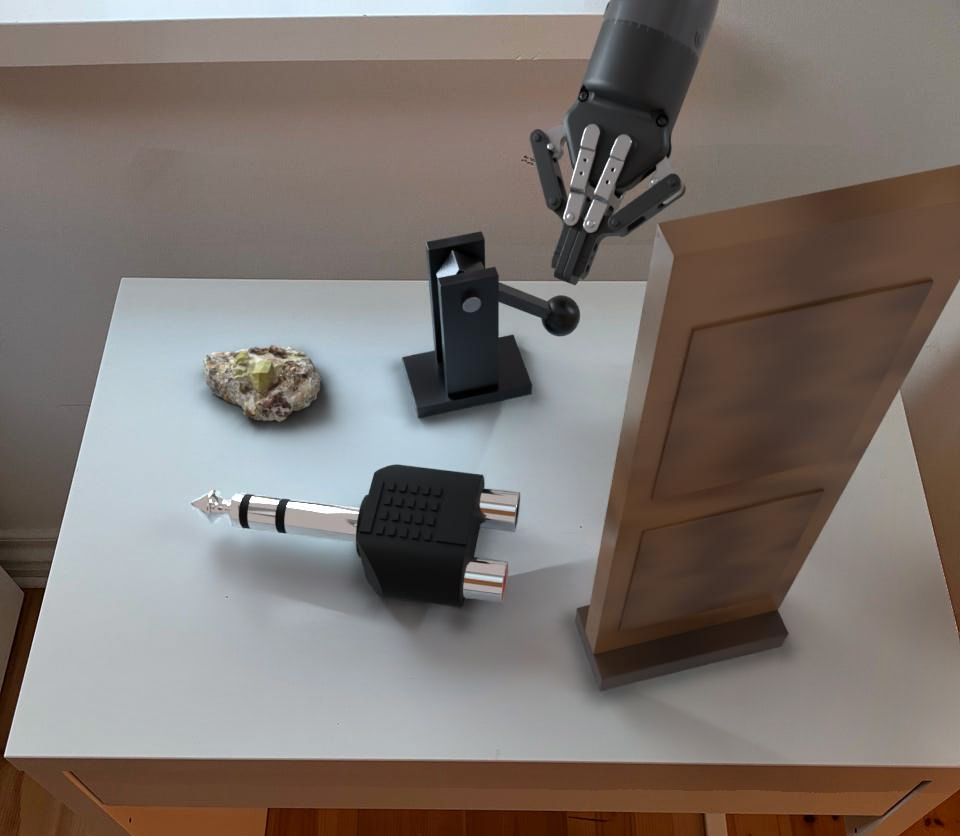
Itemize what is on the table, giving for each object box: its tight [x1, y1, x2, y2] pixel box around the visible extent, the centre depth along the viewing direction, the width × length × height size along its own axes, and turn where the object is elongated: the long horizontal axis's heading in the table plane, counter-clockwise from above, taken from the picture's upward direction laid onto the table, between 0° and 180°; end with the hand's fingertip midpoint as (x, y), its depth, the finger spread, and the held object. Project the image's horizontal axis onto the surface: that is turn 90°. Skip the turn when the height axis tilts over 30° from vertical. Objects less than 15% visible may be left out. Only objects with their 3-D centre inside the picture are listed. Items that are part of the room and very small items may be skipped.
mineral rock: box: [202, 344, 322, 423], centre depth 79 cm, size 11×4×8 cm
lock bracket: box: [401, 230, 533, 419], centre depth 74 cm, size 10×6×13 cm, turn 104°
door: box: [574, 163, 960, 692], centre depth 52 cm, size 14×6×36 cm, turn 104°
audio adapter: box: [189, 464, 521, 609], centre depth 70 cm, size 11×5×25 cm
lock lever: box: [436, 250, 581, 337], centre depth 73 cm, size 13×3×3 cm
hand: (564, 280), depth 73 cm, fingers closed
